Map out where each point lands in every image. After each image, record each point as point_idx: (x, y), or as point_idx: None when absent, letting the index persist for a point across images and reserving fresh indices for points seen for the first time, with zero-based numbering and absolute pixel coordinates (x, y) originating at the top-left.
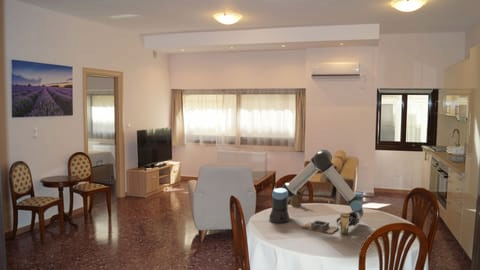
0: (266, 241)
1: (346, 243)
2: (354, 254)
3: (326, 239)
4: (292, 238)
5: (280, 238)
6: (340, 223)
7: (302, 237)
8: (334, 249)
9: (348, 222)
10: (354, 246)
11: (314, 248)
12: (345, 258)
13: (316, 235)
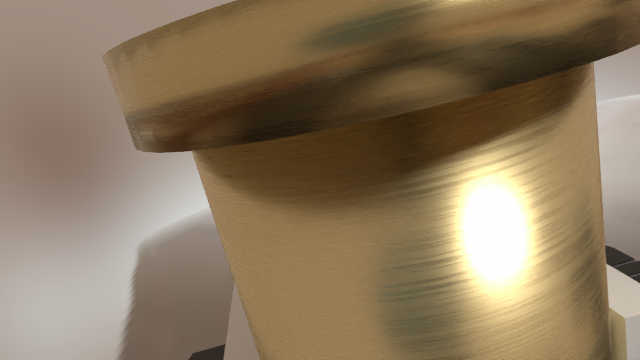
0: (602, 101)
1: None
2: (139, 260)
3: None
4: (608, 148)
5: (634, 122)
6: None
7: (607, 178)
8: None
9: (247, 325)
10: (144, 334)
11: None
12: (184, 218)
13: (630, 251)
